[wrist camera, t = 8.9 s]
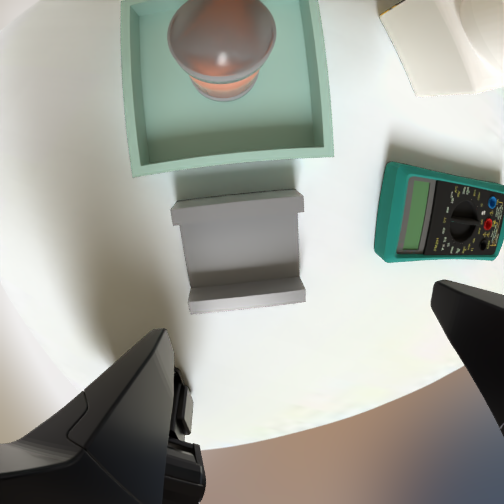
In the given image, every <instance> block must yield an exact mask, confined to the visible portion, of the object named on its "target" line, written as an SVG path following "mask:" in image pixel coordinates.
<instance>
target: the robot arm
mask: <svg viewBox="0 0 504 504" xmlns="http://www.w3.org/2000/svg"><path fill="white" fill-rule="evenodd" d="M431 308H432V310H433V312H434V314H435V316H436V317H437V319H438V321H439V323H440V325H441V327H442V328H443V330H444V332H445V334H446V336H447V338H448V340H449V341H450V343H451V344H452V346H453V348H454V349H455V351H456V352H457V354H458V355H459V357H460V359H461V360H462V362H463V363H464V365H465V367H466V368H467V370H468V371H469V373H470V375H471V376H472V378H473V380H474V382H475V383H476V385H477V387H478V388H479V390H480V392H481V394H482V395H483V397H484V399H485V401H486V403H487V405H488V406H489V408H490V410H491V412H492V414H493V416H494V418H495V420H496V422H497V424H498V425H499V427H500V428H501V429H500V430H501V432H502V434H503V436H504V295H501V294H498V293H494V292H490V291H487V290H483V289H479V288H476V287H472V286H468V285H464V284H461V283H457V282H453V281H449V280H440V281H437V282H435V284H434V286H433V292H432V298H431ZM174 372H175V373H174ZM192 413H193V400H192V397H191V394H190V391H189V388H188V387H187V386H186V385H184V382H183V379H182V376H181V373H180V371H179V369H177V368H174V350H173V347H172V344H171V341H170V338H169V335H168V332H167V330H166V329H164V328H162V329H153V330H152V331H150V332H149V333H148V334H147V335H146V336H145V337H144V338H142V339H141V340H140V341H139V342H138V343H137V344H136V345H134V346H133V347H132V348H131V349H130V350H129V351H128V352H126V353H125V354H124V355H123V356H122V357H121V358H120V359H118V360H117V361H116V362H115V363H114V364H113V365H112V366H110V367H109V368H108V369H107V370H106V371H105V372H104V373H102V374H101V375H100V376H99V377H98V378H97V379H96V380H94V381H93V382H92V383H91V384H90V385H89V386H88V387H86V388H85V389H84V391H82V392H81V393H80V394H78V395H77V396H76V397H75V398H74V399H73V400H72V401H70V402H69V403H68V404H67V405H66V406H64V407H63V408H62V409H61V410H59V411H58V412H57V413H55V414H54V415H53V416H51V417H50V418H49V419H47V420H46V421H45V422H43V423H42V424H40V425H39V426H38V427H36V428H35V429H34V430H32V431H31V432H30V433H28V434H27V435H25V436H24V437H22V438H21V439H19V440H17V441H14V442H11V443H5V444H0V504H199V503H200V502H201V500H202V498H203V495H204V492H205V487H206V476H205V471H204V466H203V461H202V456H201V451H200V446H199V445H198V444H194V443H193V444H191V443H188V442H185V441H184V440H185V435H189V434H190V433H191V425H192Z"/></svg>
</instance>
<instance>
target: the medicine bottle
mask: <svg viewBox="0 0 504 504" xmlns="http://www.w3.org/2000/svg"><path fill="white" fill-rule="evenodd" d="M380 20H381V22H382V24H383V26H384V27H385V29H386V31H387V33H388V35H389V37H390V39H391V41H392V43H393V45H394V47H395V49H396V51H397V53H398V55H399V58H400V60H401V62H402V64H403V67H404V69H405V71H406V73H407V76H408V78H409V81H410V83H411V86H412V88H413V91H414V93H415V95H416V96H417V97H419V98H421V97H432V96H446V95H464V94H480V93H483V92H486V91H489V90H493V89H496V88H500V87H503V86H504V0H403V1H401V2H399V3H398V4H396V5H395V6H393V7H392V8H390V9H388V10H387V11H385V12H384V13H382V14H381V15H380Z"/></svg>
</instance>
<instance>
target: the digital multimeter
mask: <svg viewBox="0 0 504 504" xmlns="http://www.w3.org/2000/svg"><path fill="white" fill-rule="evenodd" d="M503 240H504V185H501V184H498V183H493V182H487V181H481V180H476V179H471V178H465V177H460V176H455V175H451V174H446V173H442V172H437V171H432V170H428V169H424V168H420V167H416V166H411V165H407V164H402V163H397V162H393V161H392V162H389V163H388V164H387V165H386V169H385V174H384V179H383V184H382V189H381V195H380V200H379V207H378V214H377V224H376V234H375V246H374V251H375V252H376V254H377V255H379V256H380V257H381V258H382V259H383V260H384V261H385V262H387V263H393V262H406V261H419V260H438V259H475V260H490V261H493V260H494V259H495V258H496V257H497V256H498V254H499V251H500V249H501V246H502V243H503ZM462 243H463V244H462Z"/></svg>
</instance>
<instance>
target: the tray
mask: <svg viewBox="0 0 504 504" xmlns="http://www.w3.org/2000/svg"><path fill="white" fill-rule="evenodd" d="M187 1H188V0H122V1H121V66H122V84H123V98H124V110H125V121H126V130H127V139H128V147H129V155H130V162H131V169H132V176H133V178H134V177H140V176H146V175H152V174H158V173H164V172H171V171H177V170H184V169H192V168H199V167H207V166H216V165H225V164H234V163H245V162H256V161H268V160H282V159H298V158H320V157H334V144H333V127H332V112H331V100H330V89H329V78H328V69H327V60H326V52H325V44H324V36H323V29H322V23H321V16H320V10H319V4H318V0H259V1H261V2H262V3H263V4H264V5H265V6H266V7H267V8H268V10H269V11H270V12H271V14H272V16H273V18H274V21H275V24H276V41H275V44H274V47H273V49H272V51H271V53H270V55H269V57H268V59H267V60H266V62H265V63H264V65H263V66H262V67H261V68H260V70H259V74H258V78H257V80H256V82H255V84H254V86H253V87H252V89H251V90H250V91H249V92H248V93H247V94H246V95H244V96H243V97H241V98H240V99H237V100H234V101H230V102H217V101H213V100H210V99H208V98H206V97H204V96H203V95H201V94H200V93H199V92H198V91H197V89H196V88H195V86H194V85H193V83H192V81H191V79H190V76H189V75H188V74H187V73H186V72H185V71H184V70H183V69H182V68H181V67H180V66H179V64H178V63H177V62H176V60H175V59H174V57H173V56H172V54H171V52H170V50H169V46H168V41H167V32H168V27H169V24H170V21H171V19H172V17H173V15H174V14H175V13H176V11H177V10H178V9H179V8H180V7H181V6H182V5H183V4H184V3H185V2H187Z"/></svg>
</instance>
